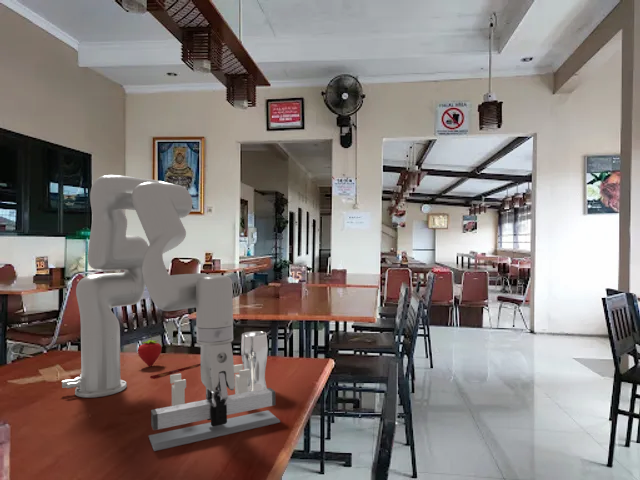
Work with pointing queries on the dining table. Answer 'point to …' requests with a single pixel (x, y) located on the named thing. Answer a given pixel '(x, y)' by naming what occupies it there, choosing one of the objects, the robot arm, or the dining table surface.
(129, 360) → the dining table surface
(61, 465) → the dining table surface
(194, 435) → the mat
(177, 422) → the steel rail
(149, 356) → the strawberry
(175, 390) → the standard left
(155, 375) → the chopstick
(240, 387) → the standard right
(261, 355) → the silver metal cup
